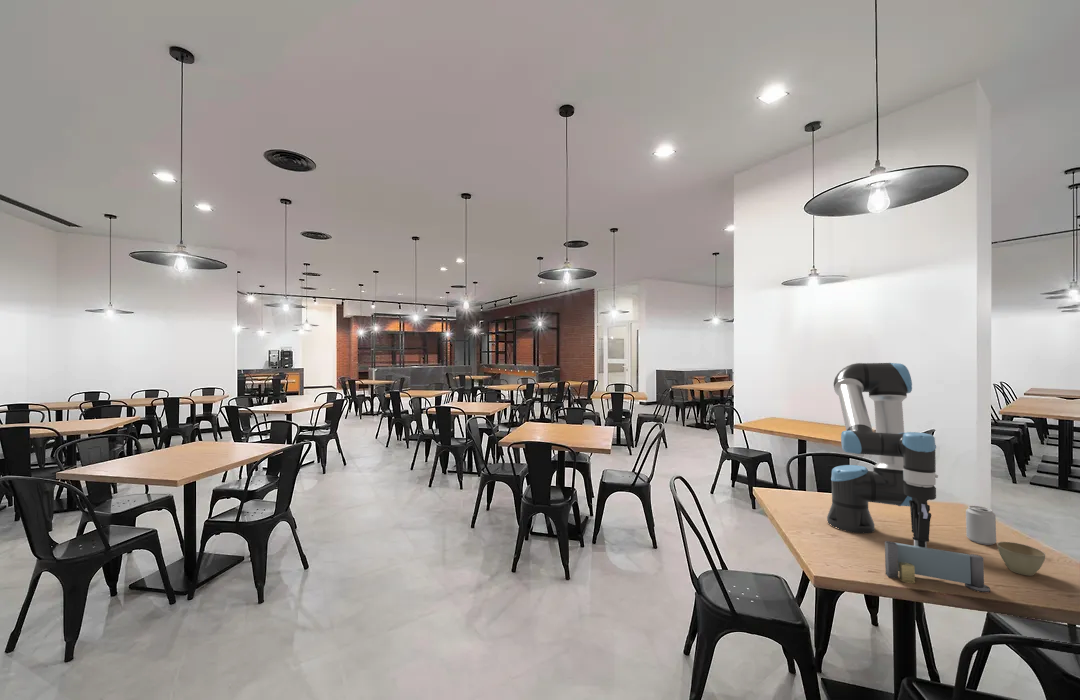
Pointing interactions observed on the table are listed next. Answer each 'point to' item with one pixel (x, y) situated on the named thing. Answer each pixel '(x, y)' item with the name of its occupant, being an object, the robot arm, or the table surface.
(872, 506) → the table surface
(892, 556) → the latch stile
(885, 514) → the table surface
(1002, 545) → the olive beige bowl
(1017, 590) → the table surface
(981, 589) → the hinge flange
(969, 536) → the can
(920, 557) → the gate
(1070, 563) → the table surface
